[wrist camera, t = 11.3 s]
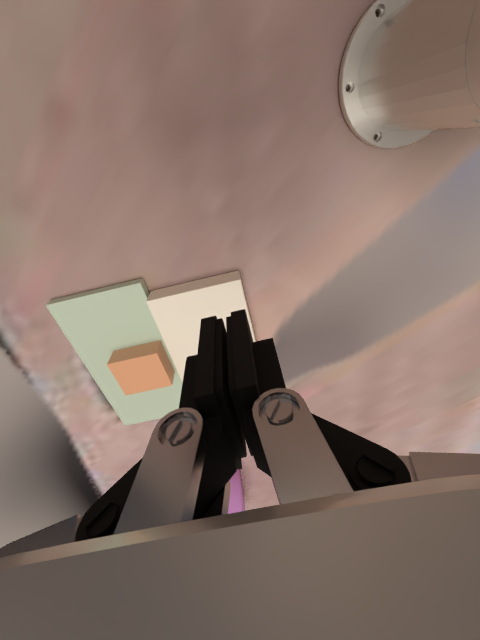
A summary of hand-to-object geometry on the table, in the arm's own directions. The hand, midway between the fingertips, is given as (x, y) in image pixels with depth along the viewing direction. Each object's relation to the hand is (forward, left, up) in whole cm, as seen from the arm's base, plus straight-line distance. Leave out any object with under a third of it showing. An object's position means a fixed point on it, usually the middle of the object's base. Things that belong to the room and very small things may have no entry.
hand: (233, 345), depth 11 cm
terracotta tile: (+17, +18, -26) cm, 35 cm away
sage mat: (+19, +18, -27) cm, 37 cm away
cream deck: (+6, +18, -27) cm, 33 cm away
